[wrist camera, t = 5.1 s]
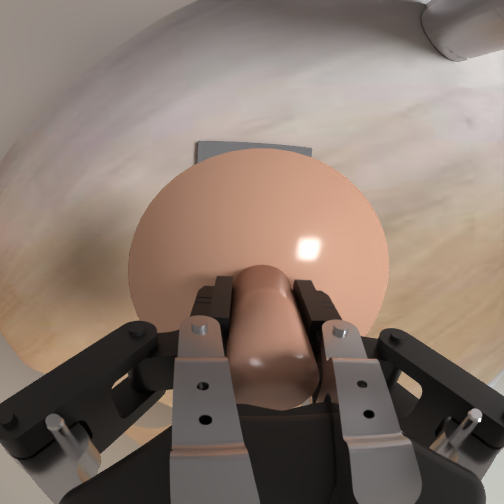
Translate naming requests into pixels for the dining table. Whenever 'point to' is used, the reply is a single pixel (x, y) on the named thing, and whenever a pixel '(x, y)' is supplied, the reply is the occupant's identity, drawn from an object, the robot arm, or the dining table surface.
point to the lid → (260, 261)
